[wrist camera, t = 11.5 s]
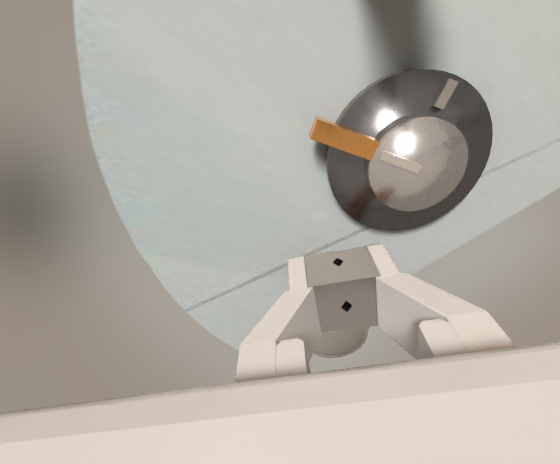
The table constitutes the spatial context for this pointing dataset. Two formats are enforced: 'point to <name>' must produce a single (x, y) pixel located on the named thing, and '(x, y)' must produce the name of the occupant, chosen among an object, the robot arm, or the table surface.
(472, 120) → the plate
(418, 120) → the dial
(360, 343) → the disposable coffee cup
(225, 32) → the table surface
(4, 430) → the robot arm
